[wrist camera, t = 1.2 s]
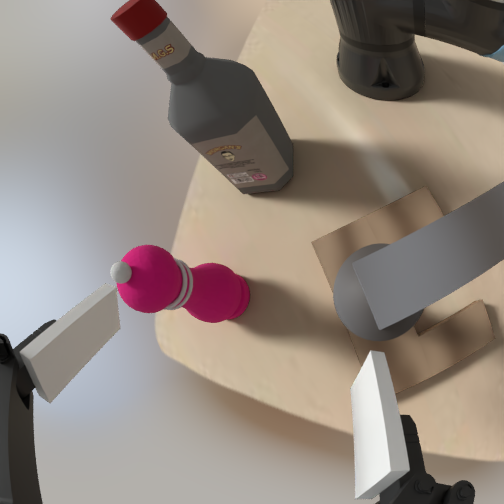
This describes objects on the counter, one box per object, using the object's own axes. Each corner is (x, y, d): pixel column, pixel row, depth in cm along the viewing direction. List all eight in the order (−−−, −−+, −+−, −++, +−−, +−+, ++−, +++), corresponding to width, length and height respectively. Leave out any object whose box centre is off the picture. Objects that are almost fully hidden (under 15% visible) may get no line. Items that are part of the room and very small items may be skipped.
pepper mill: (263, 304, 36) (158, 285, 18) (220, 332, 37) (100, 332, 20) (237, 259, 39) (130, 207, 21) (198, 288, 40) (81, 259, 22)
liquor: (294, 191, 38) (156, 2, 11) (233, 197, 41) (69, 62, 15) (294, 137, 40) (189, -38, 13) (238, 146, 43) (111, 7, 17)
